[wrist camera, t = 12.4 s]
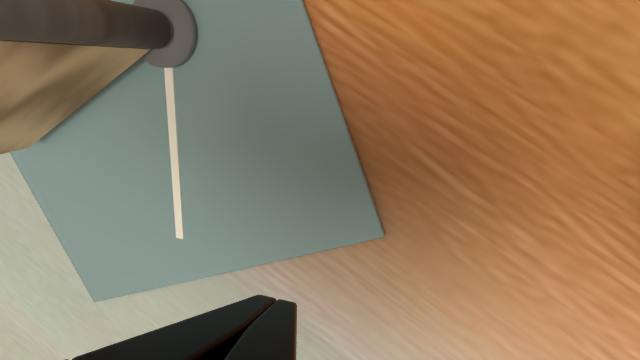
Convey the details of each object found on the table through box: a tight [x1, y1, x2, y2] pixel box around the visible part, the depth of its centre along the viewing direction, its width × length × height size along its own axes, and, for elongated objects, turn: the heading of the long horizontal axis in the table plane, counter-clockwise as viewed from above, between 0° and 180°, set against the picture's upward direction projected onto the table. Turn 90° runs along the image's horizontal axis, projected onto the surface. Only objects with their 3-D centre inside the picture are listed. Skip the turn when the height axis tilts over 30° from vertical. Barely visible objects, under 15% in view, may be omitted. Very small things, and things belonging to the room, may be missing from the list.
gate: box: [0, 0, 171, 154], centre depth 16 cm, size 13×2×8 cm, turn 121°
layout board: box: [10, 0, 385, 302], centre depth 20 cm, size 22×18×1 cm
